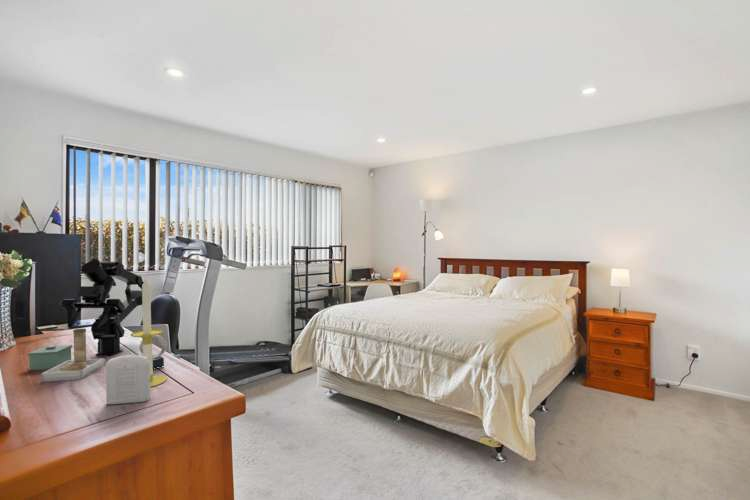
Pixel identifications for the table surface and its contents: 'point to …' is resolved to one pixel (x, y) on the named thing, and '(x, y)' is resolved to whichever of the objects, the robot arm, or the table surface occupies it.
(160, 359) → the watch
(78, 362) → the tan cylinder with block
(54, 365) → the green lidded box
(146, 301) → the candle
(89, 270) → the robot arm
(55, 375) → the tray
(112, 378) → the gravestone
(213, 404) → the table surface
